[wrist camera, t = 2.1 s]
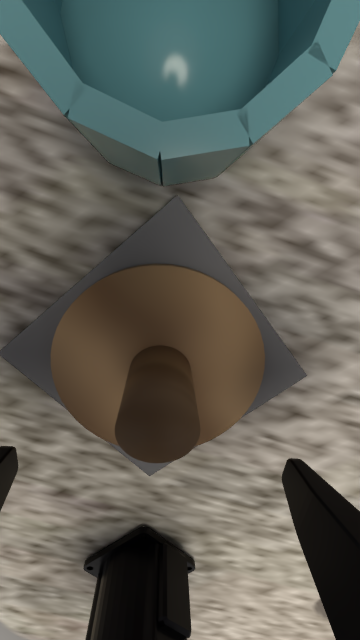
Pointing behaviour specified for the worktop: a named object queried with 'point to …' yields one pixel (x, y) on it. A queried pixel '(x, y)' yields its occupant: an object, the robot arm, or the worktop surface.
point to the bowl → (178, 72)
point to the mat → (155, 248)
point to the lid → (157, 360)
